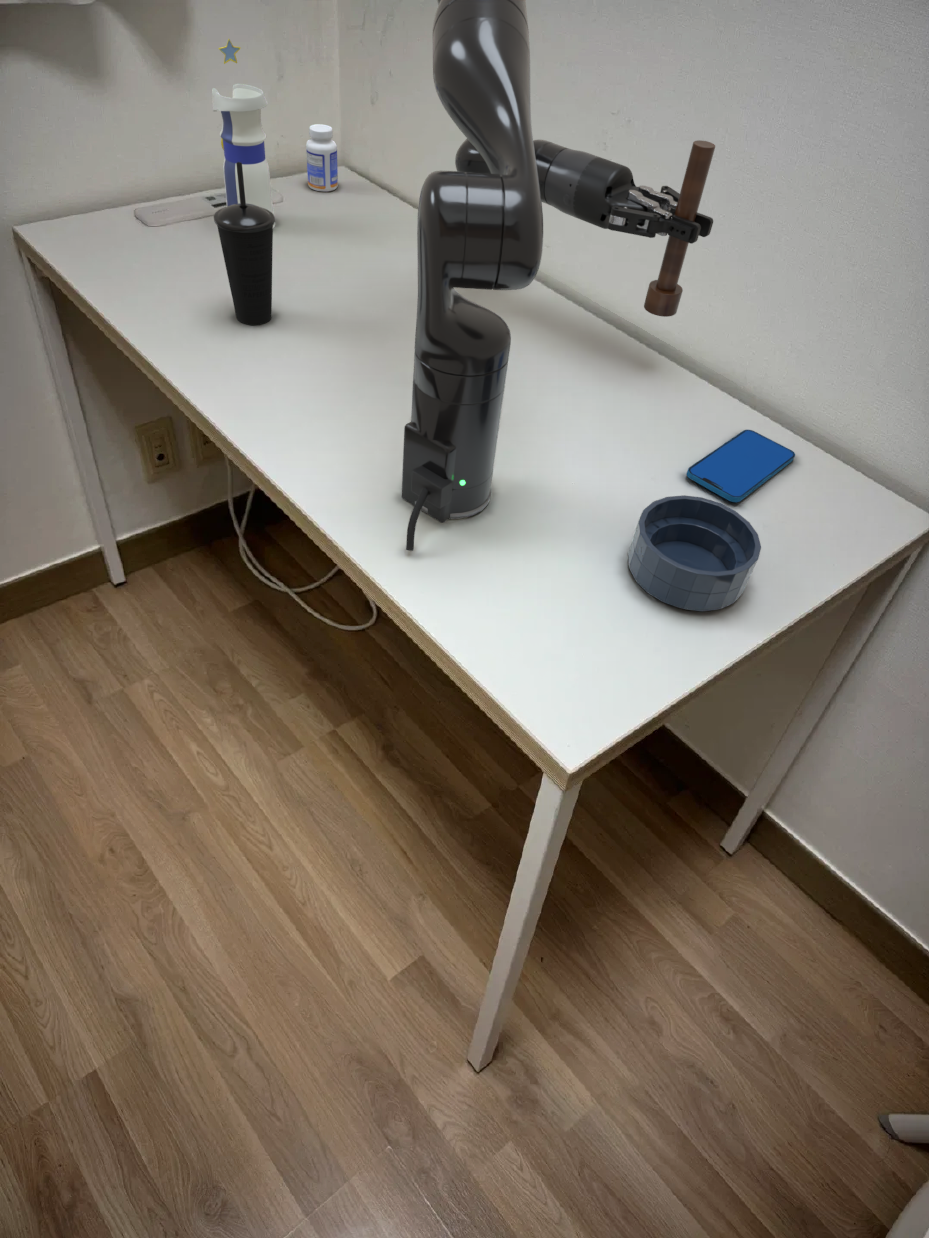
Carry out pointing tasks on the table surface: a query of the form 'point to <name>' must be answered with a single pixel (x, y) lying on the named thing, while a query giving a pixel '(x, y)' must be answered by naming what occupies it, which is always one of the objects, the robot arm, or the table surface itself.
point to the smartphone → (740, 465)
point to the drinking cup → (248, 256)
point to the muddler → (666, 290)
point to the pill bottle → (321, 158)
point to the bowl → (693, 553)
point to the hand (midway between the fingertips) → (703, 231)
